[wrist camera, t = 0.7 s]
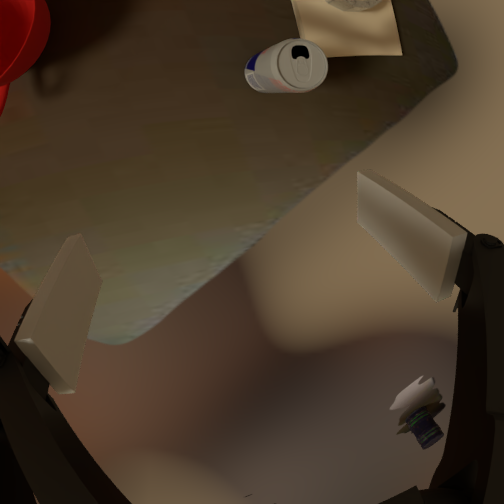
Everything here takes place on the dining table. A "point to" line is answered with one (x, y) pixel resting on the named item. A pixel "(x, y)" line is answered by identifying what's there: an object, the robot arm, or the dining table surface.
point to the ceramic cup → (20, 39)
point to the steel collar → (353, 4)
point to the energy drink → (287, 67)
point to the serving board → (348, 28)
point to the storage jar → (424, 427)
